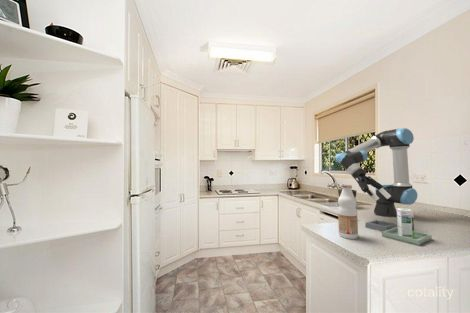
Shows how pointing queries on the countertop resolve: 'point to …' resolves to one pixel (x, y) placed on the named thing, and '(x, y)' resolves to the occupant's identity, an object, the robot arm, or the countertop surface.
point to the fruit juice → (347, 214)
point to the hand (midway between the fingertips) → (383, 198)
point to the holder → (380, 225)
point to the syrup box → (405, 222)
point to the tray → (418, 240)
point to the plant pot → (352, 191)
